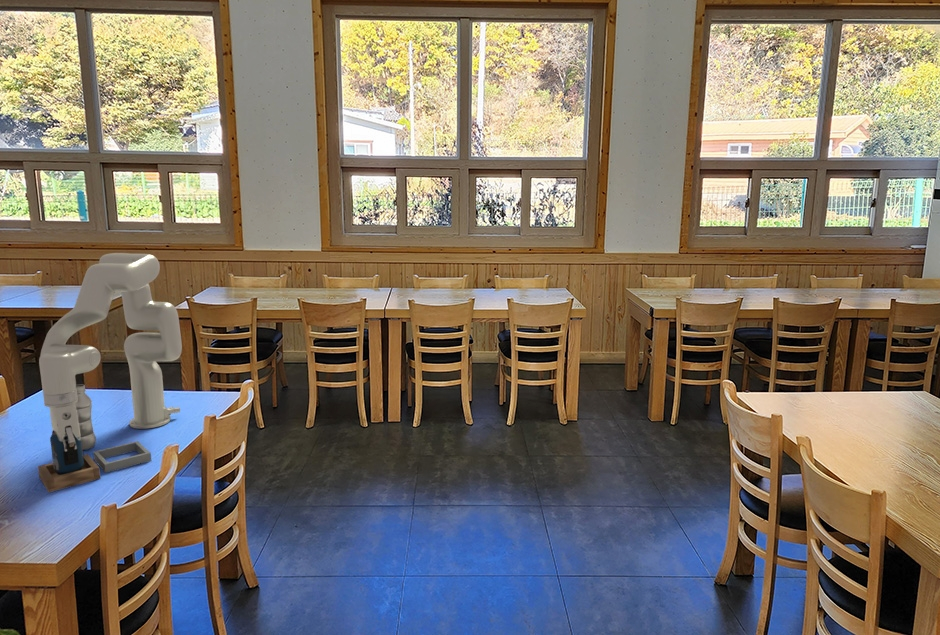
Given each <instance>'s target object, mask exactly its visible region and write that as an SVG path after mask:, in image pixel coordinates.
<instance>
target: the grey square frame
mask: <svg viewBox="0 0 940 635" xmlns="http://www.w3.org/2000/svg"><path fill="white" fill-rule="evenodd" d="M130 451H132V452H137V453H138V454H136V455H132V456H128V457H124V458H120V459H117V460H112V461H109V462H108V461H107V460H106V459H107V458H111V457H116V456H119V455H124V454H128V453H131V452H130ZM127 452H128V453H127ZM123 453H124V454H123ZM151 454H152V453H151V452H150V450H148V449H147V448H146V447H145V446H144V445H143V444H142V443H140V441H138V440H136V441H133V442H128V443H124V444H120V445H115V446H112V447H108V448H104V449H100V450H99V449H98V450H95V451H93V461H94V462H95V463H96V464H97V463H98V464H99V465H98V464H97V465H98V467H99V468H101V470H102V471H103V470H104V473H106V472H107V473H111V472H114V470H115V471H118V470H117V469H119V470H122V469H125V467H126V468H129V466H130V467H132V465H134V466H136V464H138V465H141V464H144V463H149V462H152V455H151ZM140 463H141V464H140ZM121 468H122V469H121ZM110 471H111V472H110ZM107 473H106V474H107Z"/></svg>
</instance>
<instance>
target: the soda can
mask: <svg viewBox="0 0 940 635" xmlns="http://www.w3.org/2000/svg"><path fill="white" fill-rule="evenodd" d="M74 437H75V436H74ZM65 439H68V438H67V437H65V438H64V440H65ZM49 441H50V448H51V456H52V457H51V459H52V463H53V466H54V471H55V472H56V473H57V474H58V475H64V474H68V473H71V472H75V471H79V470H81V469H82V467H83V465H84V460H83V455H84V453H83V451H84V450H82V443H81V437H80V438H76V437H75V442H76V446H77V452H78V460H79V462H78V463H74V464H70V465H65V464H64V457H63V451H64V448H63V443H62V442H61V441H59V439H58V437H57V434H55V432H54V430H53V429H52V431H51V435H50V437H49ZM67 443H68V442H66V446H67Z"/></svg>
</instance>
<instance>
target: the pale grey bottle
mask: <svg viewBox="0 0 940 635" xmlns="http://www.w3.org/2000/svg"><path fill="white" fill-rule="evenodd" d="M76 389H77V397H78V401H77V402H76V403H75V407H76V411H77V416H78V422H79V428H80V434H81V443H82V451H86V450H90V449H92V448H93V447H95V445H96V442H97V441H96V440H97V437H96V433H95V432H94V431H95V430H94V426H93V422H92V406H93V405H92V404H93V403H92V398H91V397H90V396H89V395H88V394H86V386H85V384H76Z"/></svg>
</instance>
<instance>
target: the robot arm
mask: <svg viewBox="0 0 940 635" xmlns="http://www.w3.org/2000/svg"><path fill="white" fill-rule="evenodd" d="M160 268H161V265H160V261H159V260H158V258H157V257H156V256H155V255H153V254H149V253H127V252H114V253H113V252H112V253H106V254H103V255H102V256H101V257H100V258H99V261H98V263H96V264H92V265H90V266H89V267H88V269H86V272H85V275H84V277H83V280H82V284H81V286H80V289H79V292H78V296H77V297H76V301H75V304H74V306H73V308H72V309H71V310H70V311H68V312H67V313H65V314H64V315H63V316H62V317H61V318H59V319H58V321H57V322H55V323H54V324H53V325H52V326H51V328H50V329H49V330H48V332H47V333H46V336H45V339H44V341H43V344H42V347H41V350H40V356H39V359H38V361H39V362H38V364H39V365H38V366H39V372H40V380H41V387H42V388H41V389H42V395H43V405H44V407H46V408H49V414H50V415H49V416H50V422H51V428H52V431H53V430H54V432H55V434H57V437H58V439H59V441H61V442H62V443H63V448H64V451H63V457H64V464H65V465H70V464H74V463H78V462H79V460H78V452H77V446H76V442H75V437H76V438H80V437H81V434H80V428H79V422H78V416H77V411H76V407H75V403H76V402H77V401H78V397H77V389H76V385H77V381H76V375H80V374H84V373H88V372H91V371H94V370H95V369H96V368H97V367H98V366H99V364H100V363H101V359H102V357H101V353H100V351H99V350H98V349H97V348H96V347H95V346H92V345H89V344H87V345H86V344H66V343H67V342H68V340H69V339H70V337H72V336H73V335H75V333H77V332H79V331H81V330H82V329H84V328H87V327H90V326H92V325H94V324H97V323H99V322H102V321H104V320H105V319H106V318H107V317H108V314H109V311H110V308H111V304H112V301H113V299H114V296H115V293H120V294H121V299H122V300H121V301H122V307H123V314H124V318H125V323H126V325H127V327H128V328H130V329H131V330H137V331H158V332H135V333H132V334H130V335H128V336H126V338H125V339H124V344H123V350H124V354H125V357H126V360H127V363H128V367H129V374H130V386H131V397H132V407H133V418H132V419H130V420H129V426H130V427H131V428H133V429H138V430H139V429H141V430H143V429H144V430H145V429H153V428H158V427H162V426H164V425H167V424H168V423H170V421H171V420H172V419H171V418H172V417H171V414H178V413H181V407H180V406H177V407H174V406H170V407H166V406H165V405H166V404H165V395H164V382H163V372H162V368H161V367H160V365H159V364H158V363H157V362H174V361H177V360H178V359H179V358H180V356H181V355H182V352H183V351H182V350H183V348H182V347H183V344H182V343H183V342H182V336H181V327H180V326H181V325H180V318H179V312H178V310H177V308H176V307H175V306H174V304H172V303H170V302H167V301H154V300H153V298H152V292H151V286H150V283H151V282H153V281H154V280H156V278H157V277H158V276H159V274H160V270H161V269H160ZM74 436H75V437H74ZM65 437H67V438H68V439H65V440H64V438H65ZM66 442H68V443H67V446H66Z"/></svg>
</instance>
